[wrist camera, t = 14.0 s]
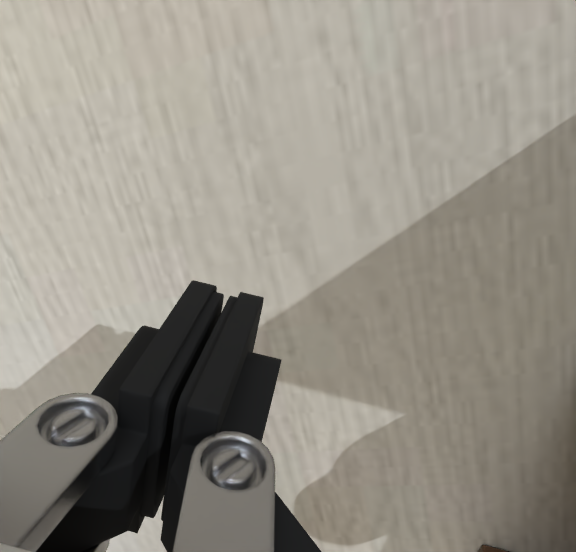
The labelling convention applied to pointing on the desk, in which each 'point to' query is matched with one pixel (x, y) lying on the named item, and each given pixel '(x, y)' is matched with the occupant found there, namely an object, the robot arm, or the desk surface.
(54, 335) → the desk surface
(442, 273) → the desk surface
